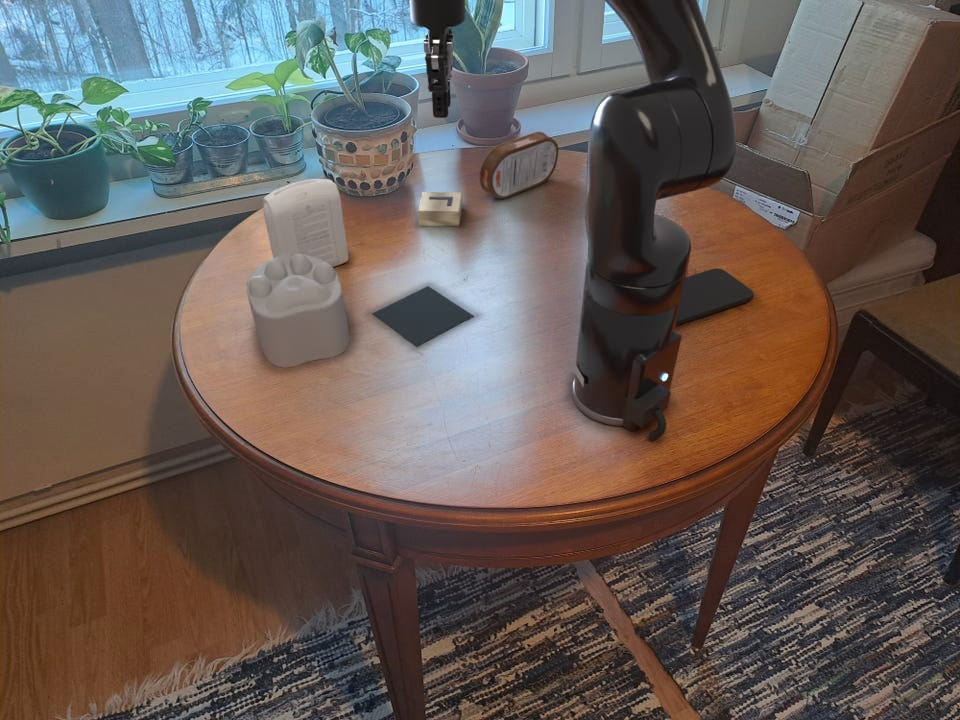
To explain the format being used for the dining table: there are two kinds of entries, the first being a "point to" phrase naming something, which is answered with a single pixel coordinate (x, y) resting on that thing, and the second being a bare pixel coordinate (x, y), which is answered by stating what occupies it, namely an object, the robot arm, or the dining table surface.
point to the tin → (518, 165)
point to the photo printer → (307, 221)
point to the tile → (440, 209)
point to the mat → (422, 315)
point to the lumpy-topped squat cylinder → (298, 310)
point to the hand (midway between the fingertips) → (442, 111)
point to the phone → (710, 294)
